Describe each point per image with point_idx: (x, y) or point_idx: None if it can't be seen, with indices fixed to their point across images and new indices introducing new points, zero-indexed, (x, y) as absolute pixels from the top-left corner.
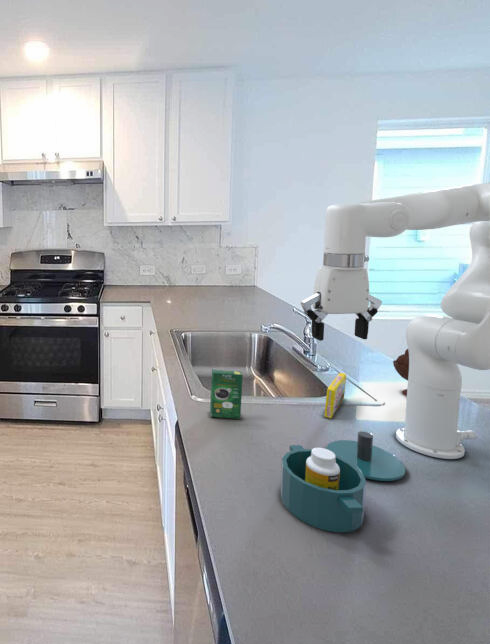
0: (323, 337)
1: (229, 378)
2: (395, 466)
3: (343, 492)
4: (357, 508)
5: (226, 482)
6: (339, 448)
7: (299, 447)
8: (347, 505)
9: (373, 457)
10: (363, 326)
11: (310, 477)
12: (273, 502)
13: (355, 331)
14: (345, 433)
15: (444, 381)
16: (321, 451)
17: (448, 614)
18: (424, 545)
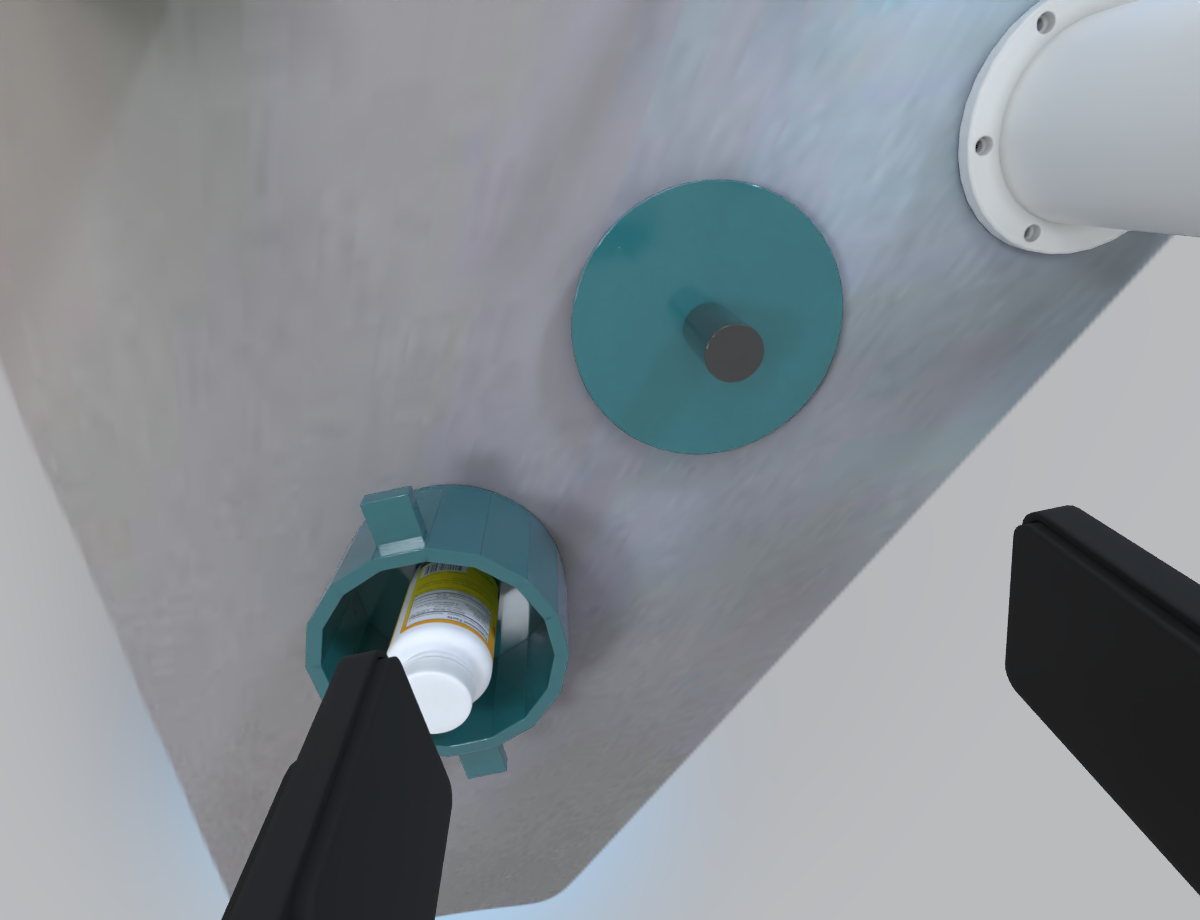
0: (447, 827)
1: None
2: (794, 373)
3: (467, 752)
4: (490, 773)
5: (168, 525)
6: (641, 266)
7: (398, 514)
8: (466, 773)
9: (747, 320)
10: (1150, 825)
11: None
12: (320, 590)
13: (1061, 573)
14: (754, 51)
15: None
16: (427, 694)
17: (598, 802)
18: (661, 666)
